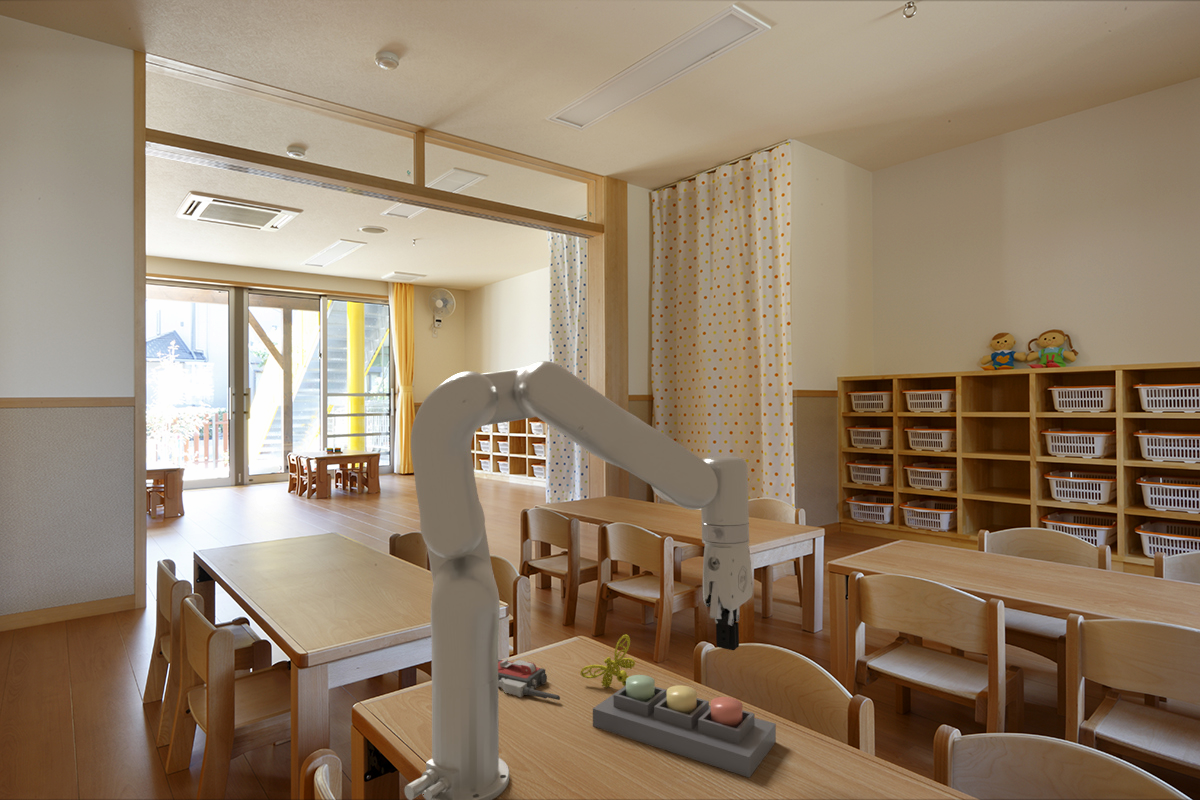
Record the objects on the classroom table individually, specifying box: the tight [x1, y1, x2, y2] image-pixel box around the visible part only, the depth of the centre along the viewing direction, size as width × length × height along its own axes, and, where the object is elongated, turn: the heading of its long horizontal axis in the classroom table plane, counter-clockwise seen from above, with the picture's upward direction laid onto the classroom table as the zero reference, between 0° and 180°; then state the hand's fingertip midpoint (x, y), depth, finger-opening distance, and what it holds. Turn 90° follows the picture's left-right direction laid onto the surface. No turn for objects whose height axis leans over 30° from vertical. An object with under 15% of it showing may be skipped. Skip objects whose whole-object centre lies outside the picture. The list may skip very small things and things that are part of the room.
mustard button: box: [666, 684, 698, 714], centre depth 106 cm, size 5×5×2 cm
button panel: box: [592, 686, 777, 778], centre depth 106 cm, size 12×28×5 cm, turn 56°
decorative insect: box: [580, 634, 636, 689], centre depth 124 cm, size 13×3×10 cm
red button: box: [710, 696, 743, 727], centre depth 102 cm, size 5×5×2 cm
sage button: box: [626, 674, 656, 702], centre depth 111 cm, size 5×5×2 cm
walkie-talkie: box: [498, 658, 561, 701], centre depth 125 cm, size 9×4×20 cm
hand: (727, 647), depth 102 cm, fingers closed
